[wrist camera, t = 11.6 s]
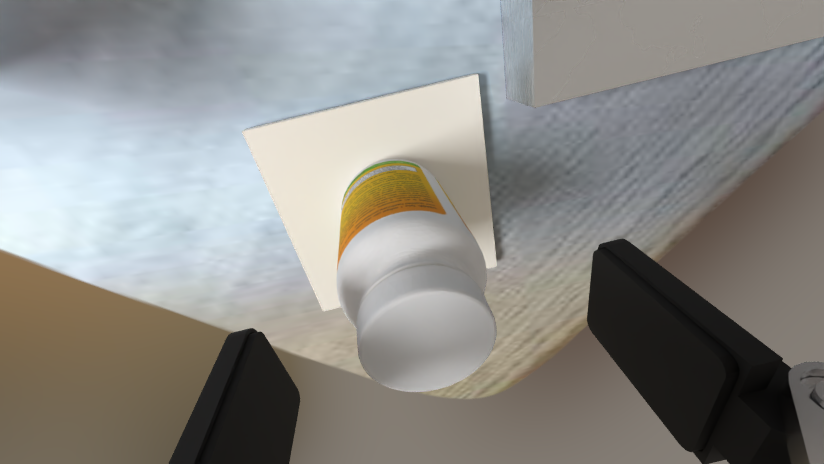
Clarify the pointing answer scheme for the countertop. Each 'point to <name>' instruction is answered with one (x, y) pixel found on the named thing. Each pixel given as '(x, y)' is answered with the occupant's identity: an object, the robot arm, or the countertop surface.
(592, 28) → the concrete holder
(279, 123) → the plastic mat
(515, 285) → the countertop surface
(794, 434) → the robot arm
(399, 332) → the supplement bottle
